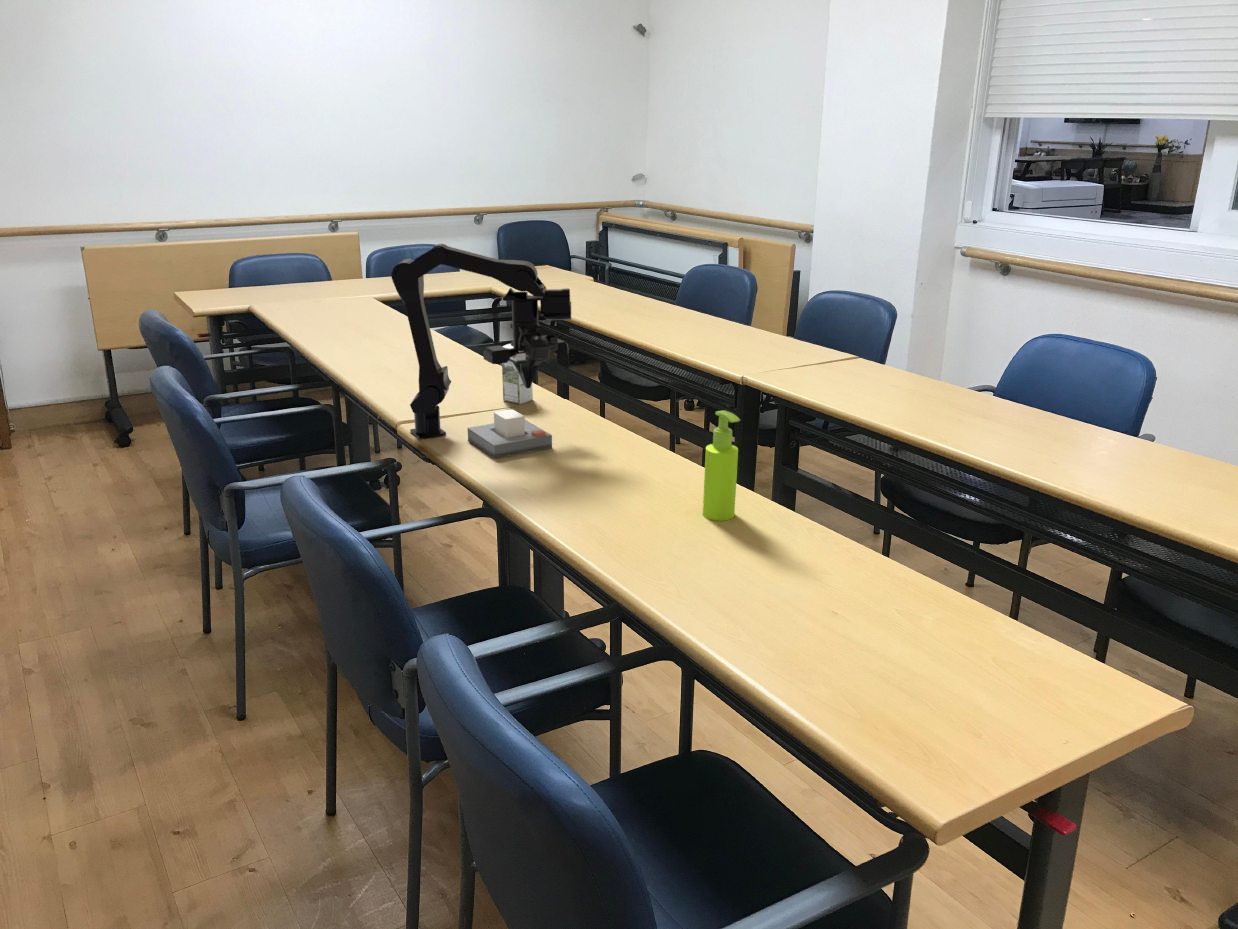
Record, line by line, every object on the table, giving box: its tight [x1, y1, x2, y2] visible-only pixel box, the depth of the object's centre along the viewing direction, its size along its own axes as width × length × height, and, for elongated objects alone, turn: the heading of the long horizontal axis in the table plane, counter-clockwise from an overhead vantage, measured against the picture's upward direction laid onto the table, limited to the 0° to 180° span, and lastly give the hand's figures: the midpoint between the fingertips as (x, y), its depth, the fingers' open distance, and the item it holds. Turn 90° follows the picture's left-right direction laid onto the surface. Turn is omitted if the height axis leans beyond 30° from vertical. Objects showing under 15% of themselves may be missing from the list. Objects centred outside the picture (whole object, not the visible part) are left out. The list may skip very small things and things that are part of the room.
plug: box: [493, 408, 526, 438], centre depth 212 cm, size 6×5×6 cm
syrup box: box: [501, 342, 534, 405], centre depth 243 cm, size 6×6×14 cm
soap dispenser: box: [702, 410, 741, 521], centre depth 174 cm, size 6×7×20 cm
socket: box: [467, 419, 553, 459], centre depth 213 cm, size 14×14×4 cm
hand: (527, 387), depth 216 cm, fingers closed
